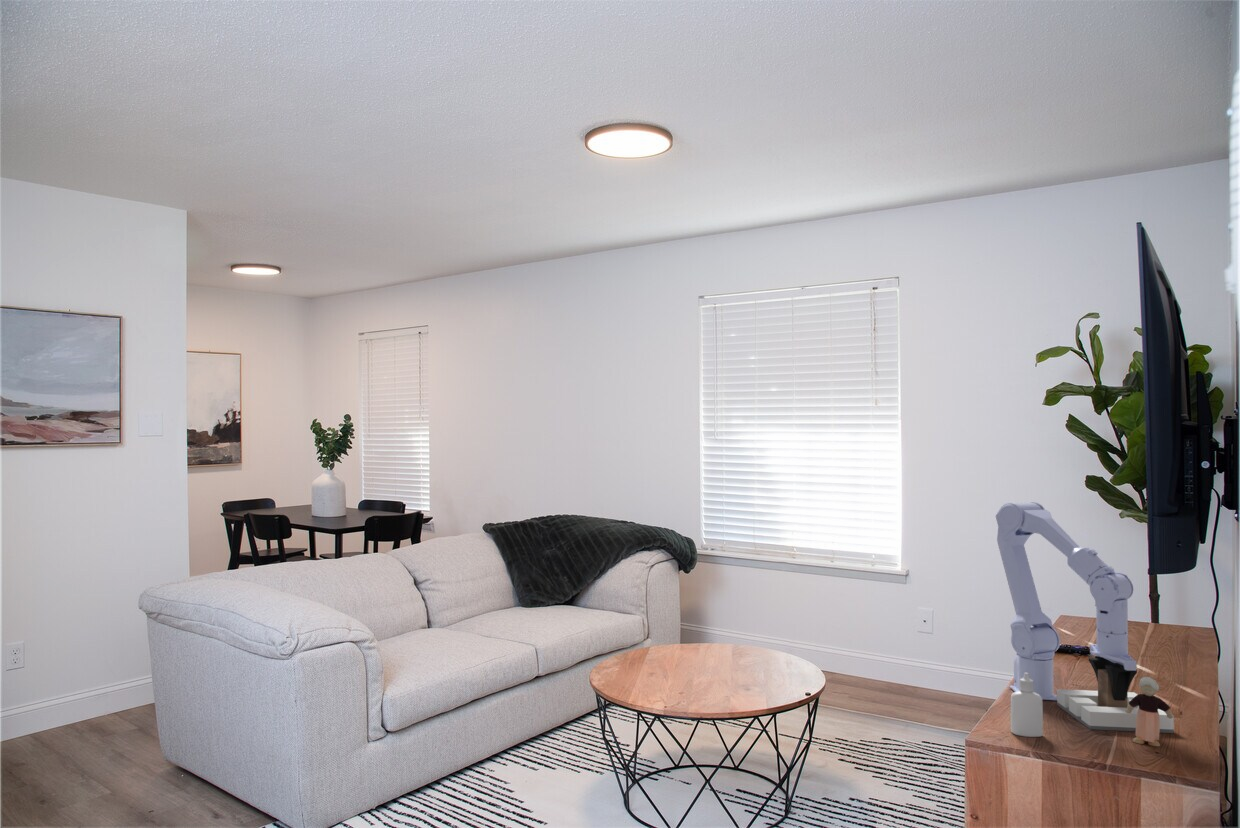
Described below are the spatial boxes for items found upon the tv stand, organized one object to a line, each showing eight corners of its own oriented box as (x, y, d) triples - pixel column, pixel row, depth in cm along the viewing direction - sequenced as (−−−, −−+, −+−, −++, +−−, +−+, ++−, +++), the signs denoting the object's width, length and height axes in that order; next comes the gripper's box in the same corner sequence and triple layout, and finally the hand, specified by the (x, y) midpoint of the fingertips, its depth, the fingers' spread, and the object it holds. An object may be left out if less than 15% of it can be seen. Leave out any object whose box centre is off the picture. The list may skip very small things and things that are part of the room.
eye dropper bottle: (1014, 728, 170) (1014, 668, 171) (1044, 734, 167) (1044, 673, 167) (1008, 733, 167) (1008, 672, 167) (1039, 740, 163) (1039, 677, 164)
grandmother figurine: (1128, 743, 162) (1128, 677, 163) (1124, 737, 166) (1124, 672, 166) (1175, 749, 159) (1174, 681, 160) (1170, 742, 163) (1169, 676, 163)
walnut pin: (1098, 711, 180) (1097, 669, 180) (1117, 712, 179) (1117, 669, 180) (1107, 717, 176) (1107, 674, 176) (1127, 718, 175) (1127, 674, 176)
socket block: (1057, 705, 186) (1057, 689, 186) (1133, 708, 184) (1133, 692, 185) (1089, 729, 170) (1089, 711, 170) (1173, 733, 169) (1173, 715, 169)
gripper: (1075, 623, 185) (1076, 686, 185) (1111, 638, 171) (1111, 706, 170) (1108, 624, 185) (1108, 686, 185) (1146, 639, 171) (1147, 707, 170)
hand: (1112, 696), depth 178 cm, fingers open, 5 cm apart
